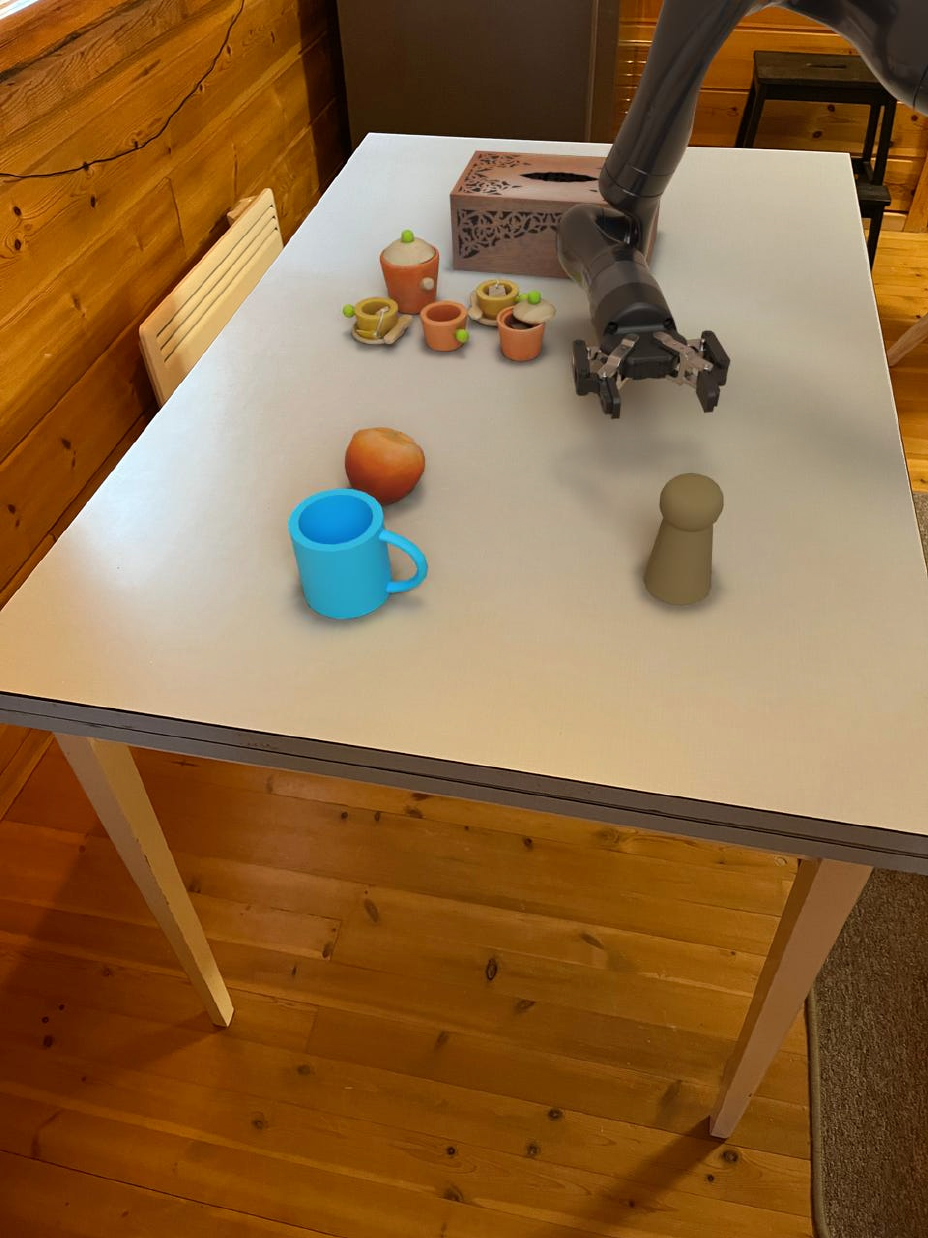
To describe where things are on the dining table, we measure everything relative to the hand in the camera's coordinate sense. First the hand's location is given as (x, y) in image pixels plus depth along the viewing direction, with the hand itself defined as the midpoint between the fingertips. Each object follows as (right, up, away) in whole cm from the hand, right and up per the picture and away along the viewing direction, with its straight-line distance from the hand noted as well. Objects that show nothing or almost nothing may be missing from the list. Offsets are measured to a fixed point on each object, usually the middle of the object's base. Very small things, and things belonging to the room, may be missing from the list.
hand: (664, 407), depth 83 cm
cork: (+1, -16, +1) cm, 16 cm away
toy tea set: (-19, +17, +32) cm, 41 cm away
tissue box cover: (-5, +32, +45) cm, 55 cm away
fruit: (-26, -6, +11) cm, 29 cm away
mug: (-27, -16, +2) cm, 31 cm away
